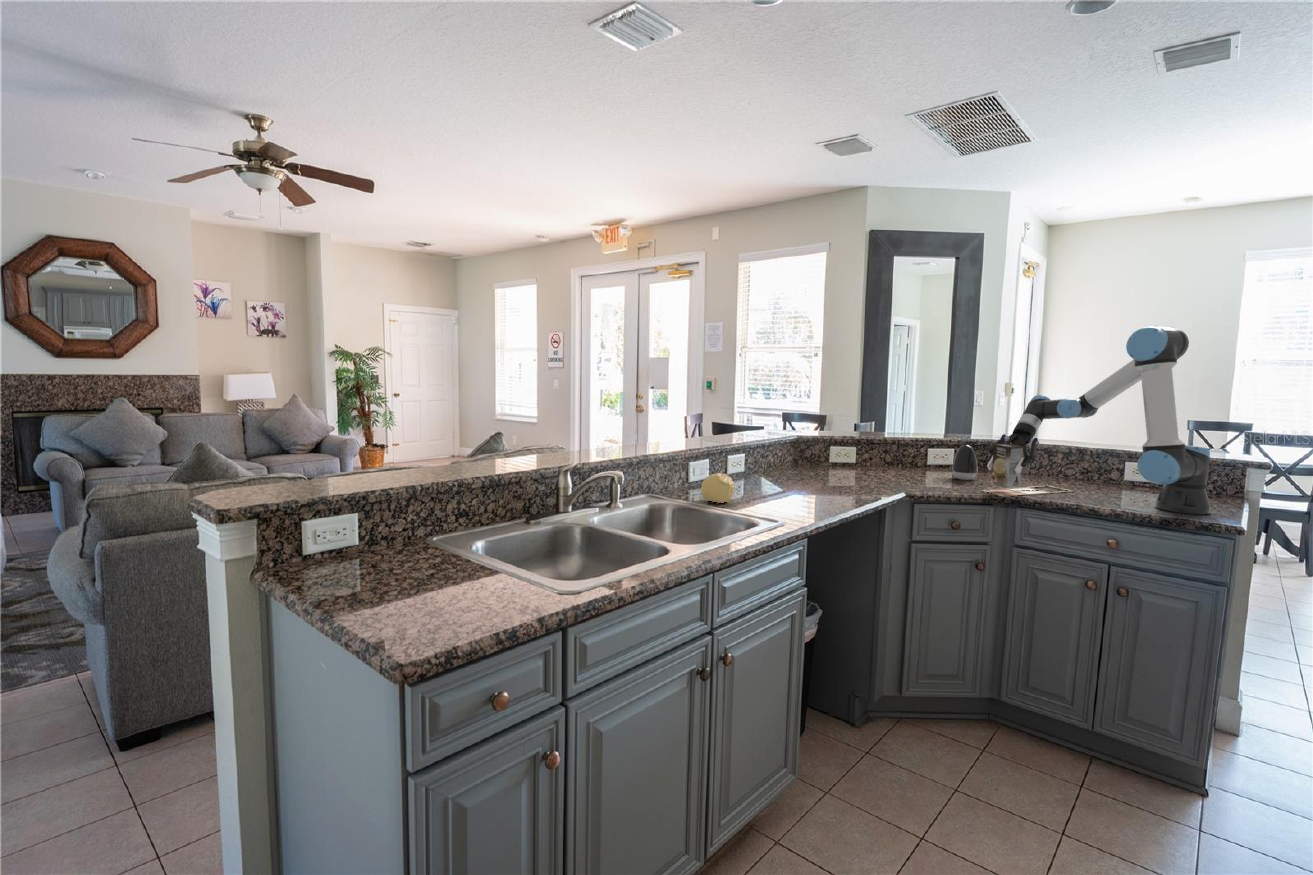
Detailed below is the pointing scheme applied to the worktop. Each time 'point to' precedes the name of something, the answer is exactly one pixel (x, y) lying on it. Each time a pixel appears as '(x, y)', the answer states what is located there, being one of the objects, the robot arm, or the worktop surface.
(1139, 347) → the robot arm
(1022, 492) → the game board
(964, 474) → the dark grey dome speaker
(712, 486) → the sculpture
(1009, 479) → the coffee box
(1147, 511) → the worktop surface
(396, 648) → the worktop surface
